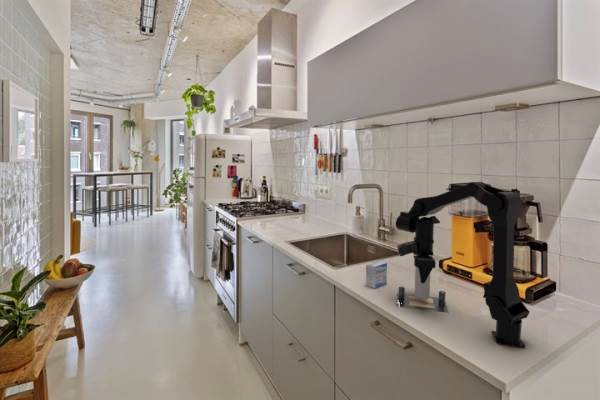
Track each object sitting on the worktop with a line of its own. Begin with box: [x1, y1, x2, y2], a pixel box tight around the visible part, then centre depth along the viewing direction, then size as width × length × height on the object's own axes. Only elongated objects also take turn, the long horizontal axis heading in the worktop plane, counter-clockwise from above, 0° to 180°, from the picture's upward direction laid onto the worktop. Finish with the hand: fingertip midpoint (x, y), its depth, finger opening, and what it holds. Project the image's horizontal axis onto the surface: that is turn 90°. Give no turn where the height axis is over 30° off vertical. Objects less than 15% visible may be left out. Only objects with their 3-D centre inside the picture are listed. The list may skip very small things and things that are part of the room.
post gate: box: [396, 286, 450, 314], centre depth 113 cm, size 12×16×5 cm
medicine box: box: [365, 260, 388, 289], centre depth 129 cm, size 8×4×9 cm, turn 131°
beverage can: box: [414, 266, 431, 300], centre depth 112 cm, size 5×5×12 cm
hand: (422, 280), depth 112 cm, fingers closed on beverage can, 5 cm apart
